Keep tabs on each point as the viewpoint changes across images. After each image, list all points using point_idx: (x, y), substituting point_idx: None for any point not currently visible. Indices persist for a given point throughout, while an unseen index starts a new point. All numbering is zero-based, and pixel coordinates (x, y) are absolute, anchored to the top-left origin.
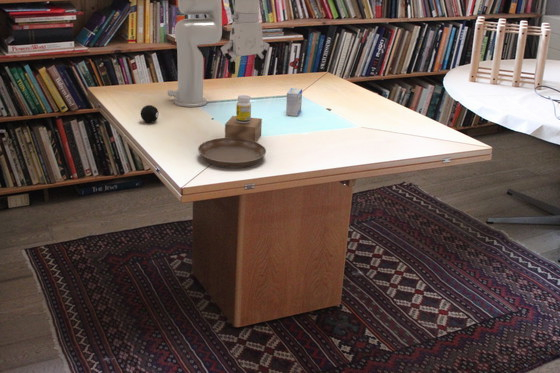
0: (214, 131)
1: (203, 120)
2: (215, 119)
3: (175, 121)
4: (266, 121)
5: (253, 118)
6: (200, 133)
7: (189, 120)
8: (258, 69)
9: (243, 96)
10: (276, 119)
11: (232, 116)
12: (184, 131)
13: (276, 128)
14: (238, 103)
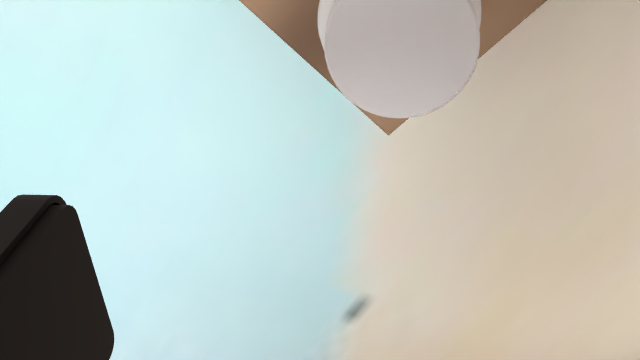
0: (471, 147)
1: (413, 311)
2: (346, 300)
3: (551, 350)
4: (89, 169)
5: (271, 6)
6: (570, 151)
7: (478, 336)
8: (62, 234)
9: (405, 55)
10: (18, 175)
11: (400, 120)
12: (625, 216)
13: (74, 34)
14: (477, 16)
